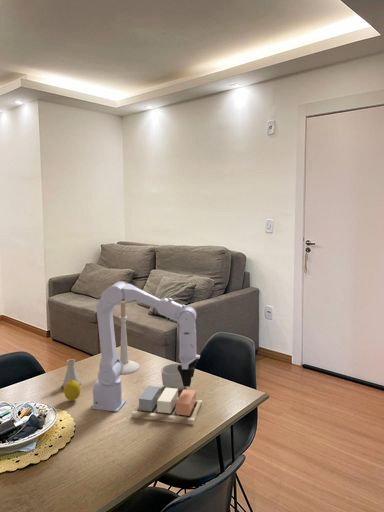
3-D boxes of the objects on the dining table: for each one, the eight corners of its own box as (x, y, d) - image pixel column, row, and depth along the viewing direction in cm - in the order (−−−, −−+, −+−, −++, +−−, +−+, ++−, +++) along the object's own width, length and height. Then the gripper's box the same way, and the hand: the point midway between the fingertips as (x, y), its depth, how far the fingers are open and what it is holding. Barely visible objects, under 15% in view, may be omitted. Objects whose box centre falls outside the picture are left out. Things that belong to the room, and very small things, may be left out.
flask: (78, 389, 157) (77, 364, 156) (59, 389, 157) (58, 364, 156) (83, 381, 164) (82, 357, 163) (65, 381, 164) (64, 357, 163)
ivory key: (157, 411, 136) (157, 400, 136) (165, 398, 146) (165, 387, 146) (170, 413, 135) (170, 402, 135) (178, 399, 145) (177, 388, 145)
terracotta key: (176, 414, 135) (176, 402, 134) (183, 400, 145) (183, 389, 144) (189, 415, 134) (189, 404, 133) (195, 401, 144) (195, 390, 143)
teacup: (177, 396, 151) (177, 376, 150) (155, 388, 157) (155, 369, 156) (199, 383, 162) (199, 364, 161) (178, 376, 168) (178, 358, 167)
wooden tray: (131, 417, 136) (131, 413, 136) (145, 397, 150) (145, 394, 150) (193, 424, 132) (193, 420, 132) (202, 404, 145) (202, 400, 145)
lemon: (76, 405, 144) (75, 384, 143) (61, 404, 146) (60, 382, 145) (83, 398, 150) (82, 377, 149) (69, 396, 151) (68, 376, 150)
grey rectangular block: (139, 409, 138) (138, 398, 137) (148, 396, 147) (148, 385, 147) (151, 411, 137) (151, 400, 136) (160, 397, 146) (160, 386, 146)
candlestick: (110, 375, 169) (108, 305, 166) (108, 364, 182) (106, 298, 178) (141, 372, 173) (139, 303, 169) (137, 361, 185) (136, 296, 181)
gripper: (196, 351, 131) (197, 391, 132) (202, 336, 145) (202, 373, 147) (175, 350, 132) (175, 390, 133) (182, 335, 146) (183, 372, 148)
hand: (188, 381), depth 140 cm, fingers open, 7 cm apart
